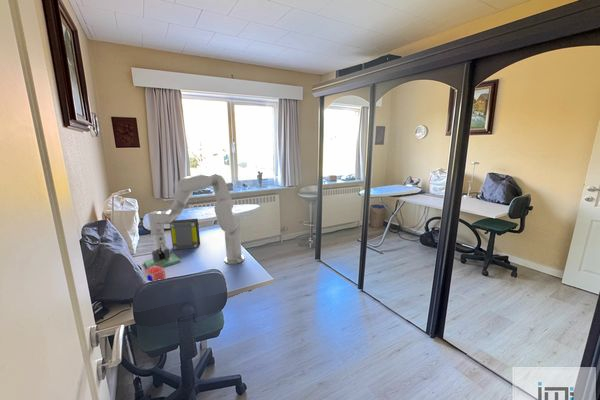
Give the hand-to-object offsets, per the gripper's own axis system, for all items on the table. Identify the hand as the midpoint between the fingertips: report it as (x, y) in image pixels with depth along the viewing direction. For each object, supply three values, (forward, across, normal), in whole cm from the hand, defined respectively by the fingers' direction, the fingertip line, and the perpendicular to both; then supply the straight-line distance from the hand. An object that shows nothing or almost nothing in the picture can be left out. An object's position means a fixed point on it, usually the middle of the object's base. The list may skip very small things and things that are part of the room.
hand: (161, 257), depth 169 cm
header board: (+3, 0, 0) cm, 3 cm away
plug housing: (+1, 0, 0) cm, 1 cm away
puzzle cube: (+4, -24, +10) cm, 26 cm away
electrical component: (+4, +16, -21) cm, 27 cm away
